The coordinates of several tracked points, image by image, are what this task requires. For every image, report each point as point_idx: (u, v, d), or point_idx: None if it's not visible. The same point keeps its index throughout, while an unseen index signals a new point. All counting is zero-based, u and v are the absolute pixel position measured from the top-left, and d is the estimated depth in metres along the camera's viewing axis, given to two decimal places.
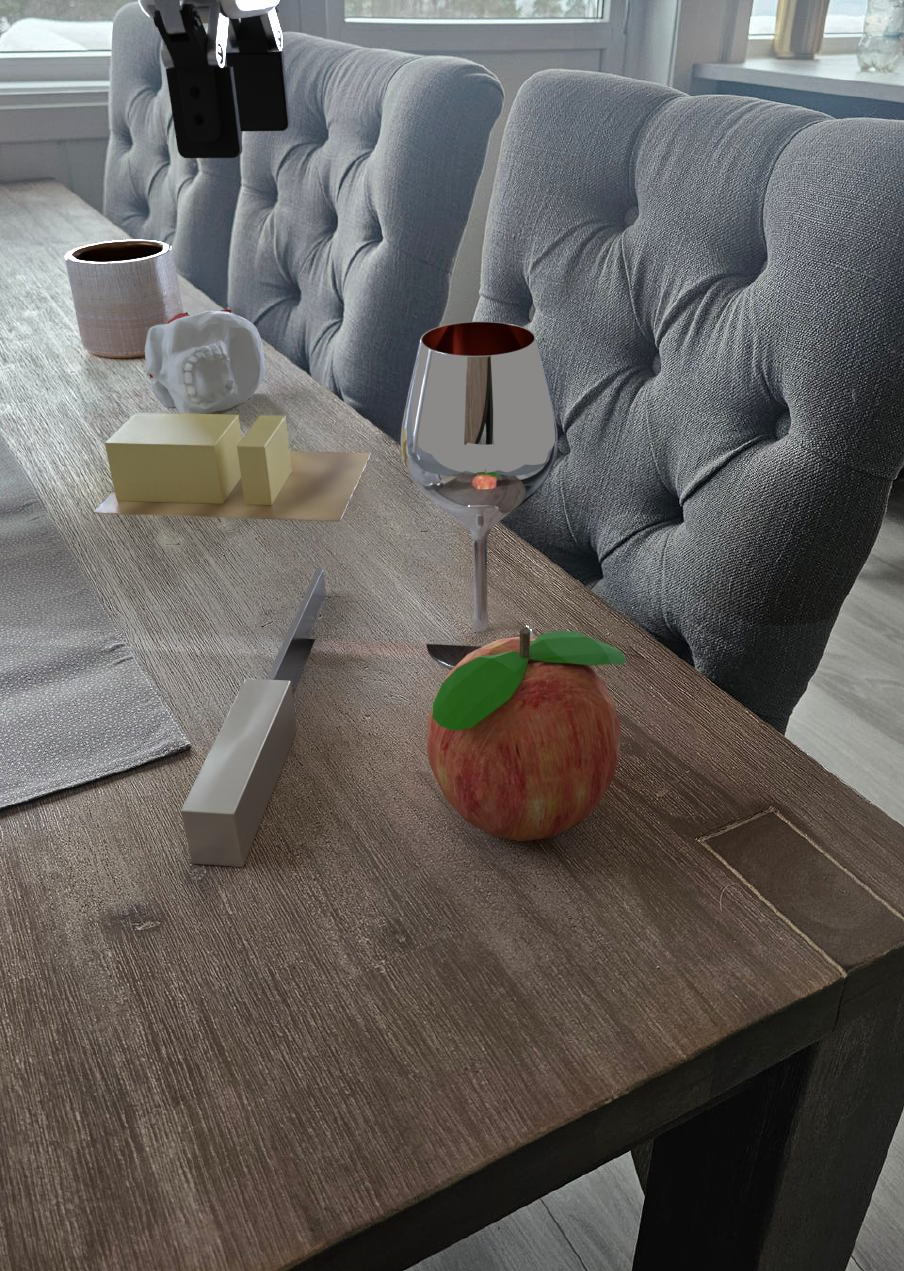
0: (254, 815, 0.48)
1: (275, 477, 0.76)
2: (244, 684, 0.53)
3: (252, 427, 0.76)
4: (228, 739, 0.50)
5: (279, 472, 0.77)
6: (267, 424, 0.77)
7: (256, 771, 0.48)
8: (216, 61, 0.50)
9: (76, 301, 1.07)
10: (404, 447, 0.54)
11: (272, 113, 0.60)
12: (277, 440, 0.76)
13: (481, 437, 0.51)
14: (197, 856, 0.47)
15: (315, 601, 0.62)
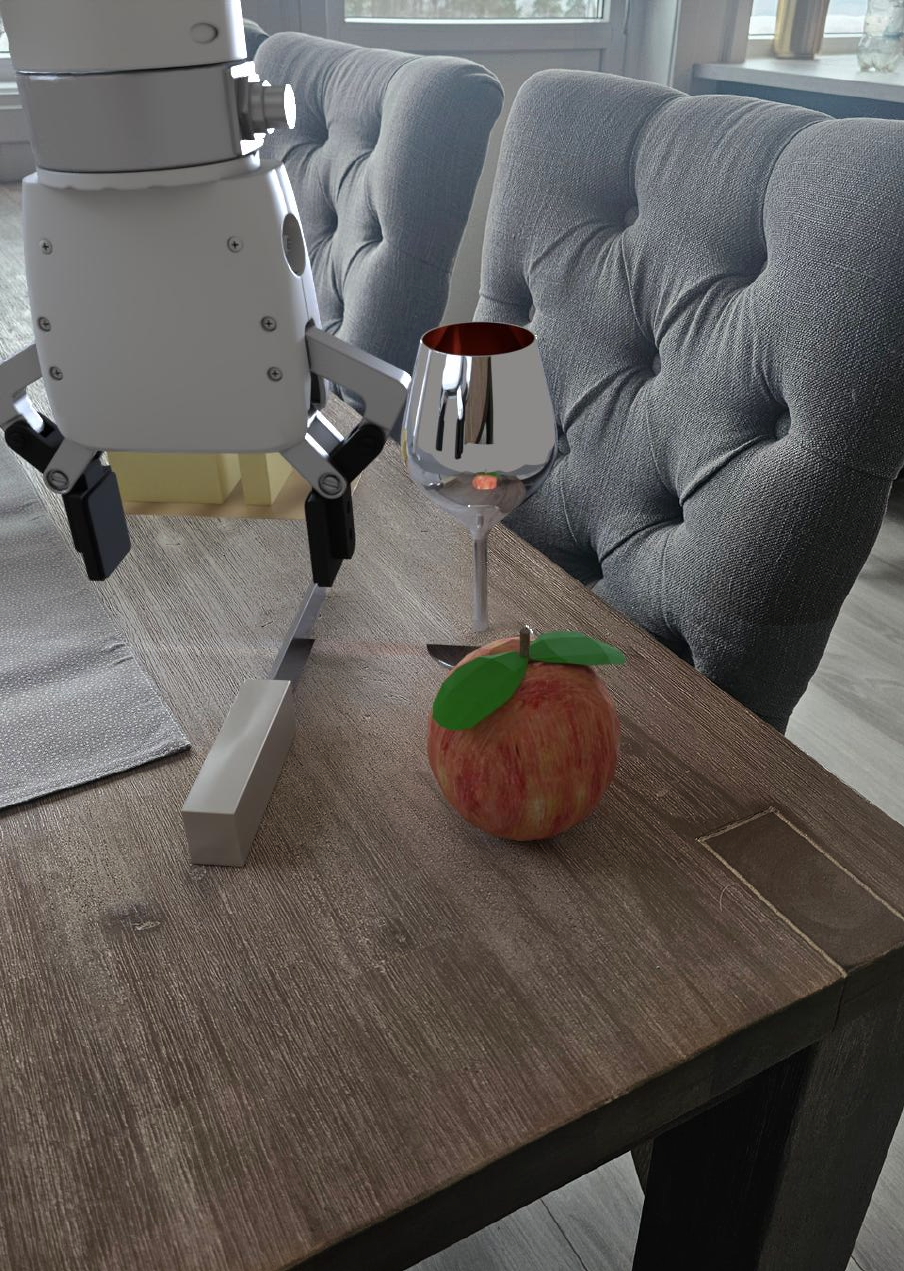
0: (254, 815, 0.48)
1: (275, 477, 0.76)
2: (244, 684, 0.53)
3: None
4: (228, 739, 0.50)
5: (279, 472, 0.77)
6: None
7: (256, 771, 0.48)
8: (47, 486, 0.42)
9: None
10: (404, 447, 0.54)
11: None
12: None
13: (481, 437, 0.51)
14: (197, 856, 0.47)
15: (315, 601, 0.62)
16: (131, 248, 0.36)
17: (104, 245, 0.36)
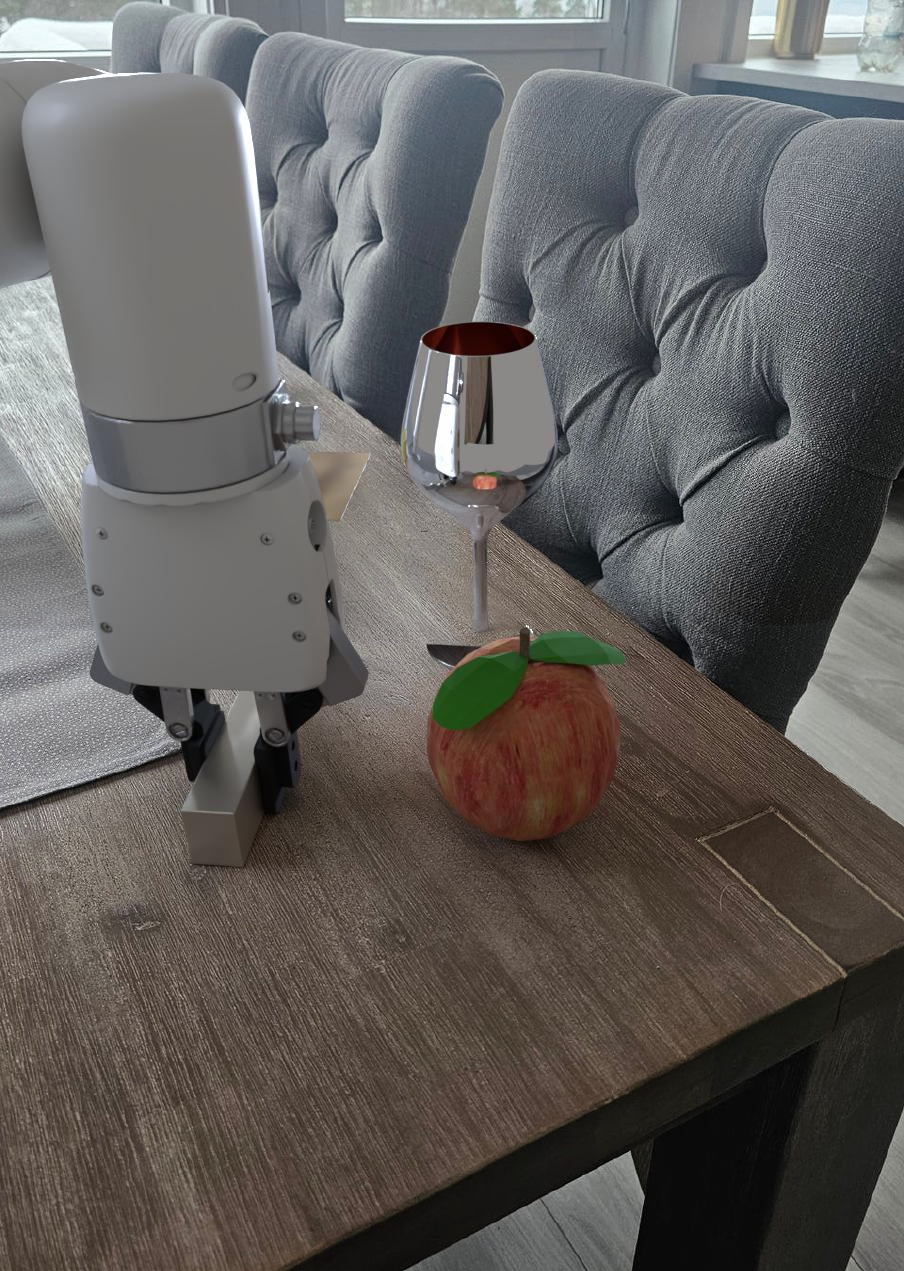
0: (254, 816, 0.48)
1: None
2: None
3: None
4: (228, 739, 0.50)
5: None
6: None
7: (256, 771, 0.48)
8: (176, 739, 0.48)
9: None
10: (404, 447, 0.54)
11: None
12: None
13: (481, 437, 0.51)
14: (197, 856, 0.47)
15: None
16: (177, 540, 0.41)
17: (153, 536, 0.41)
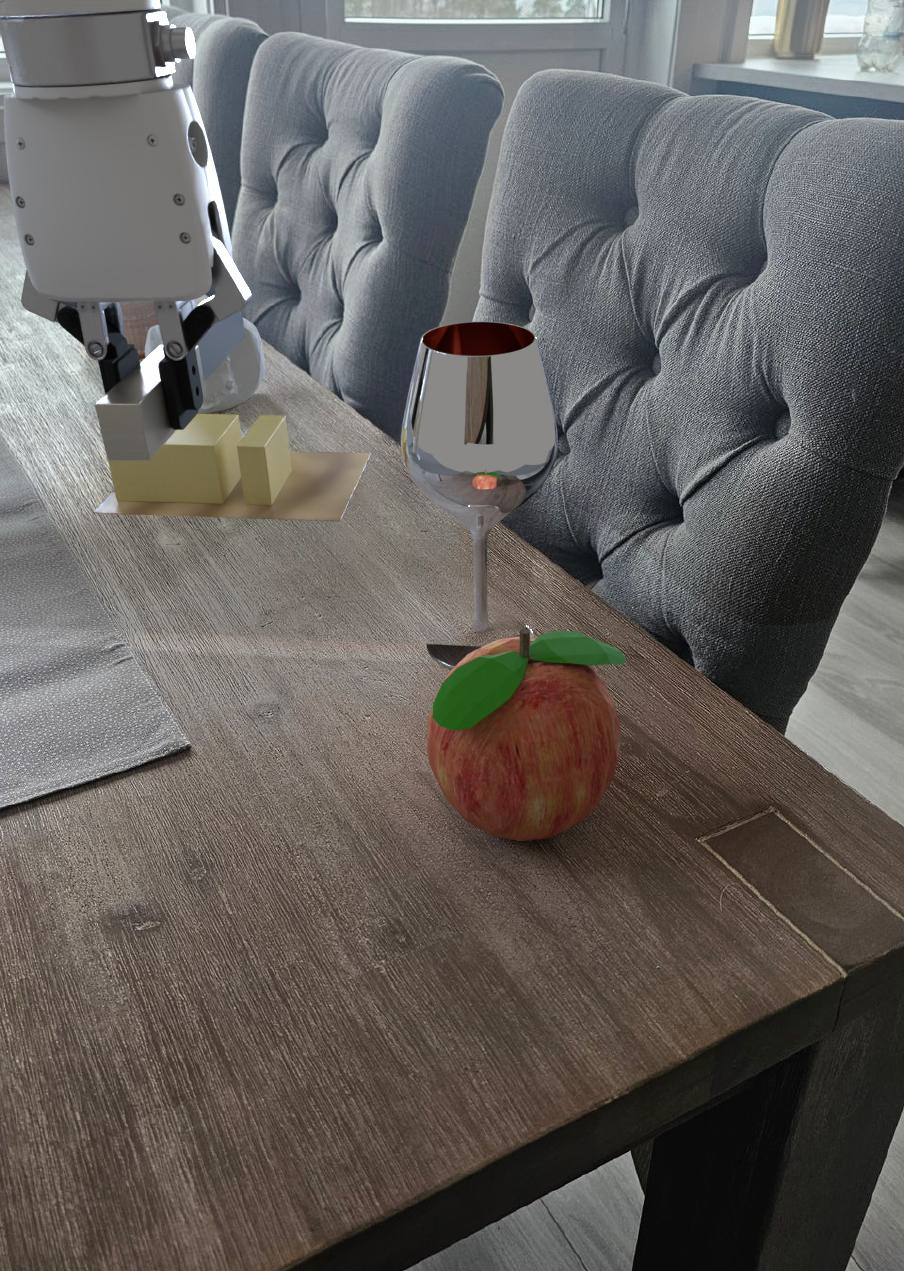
0: (160, 427, 0.58)
1: (275, 477, 0.76)
2: (159, 347, 0.63)
3: (252, 427, 0.76)
4: (140, 372, 0.59)
5: (279, 472, 0.77)
6: (267, 424, 0.77)
7: (161, 390, 0.58)
8: (94, 359, 0.58)
9: None
10: (404, 447, 0.54)
11: None
12: (277, 440, 0.76)
13: (481, 437, 0.51)
14: (111, 452, 0.57)
15: (230, 316, 0.72)
16: (80, 144, 0.51)
17: (61, 141, 0.51)
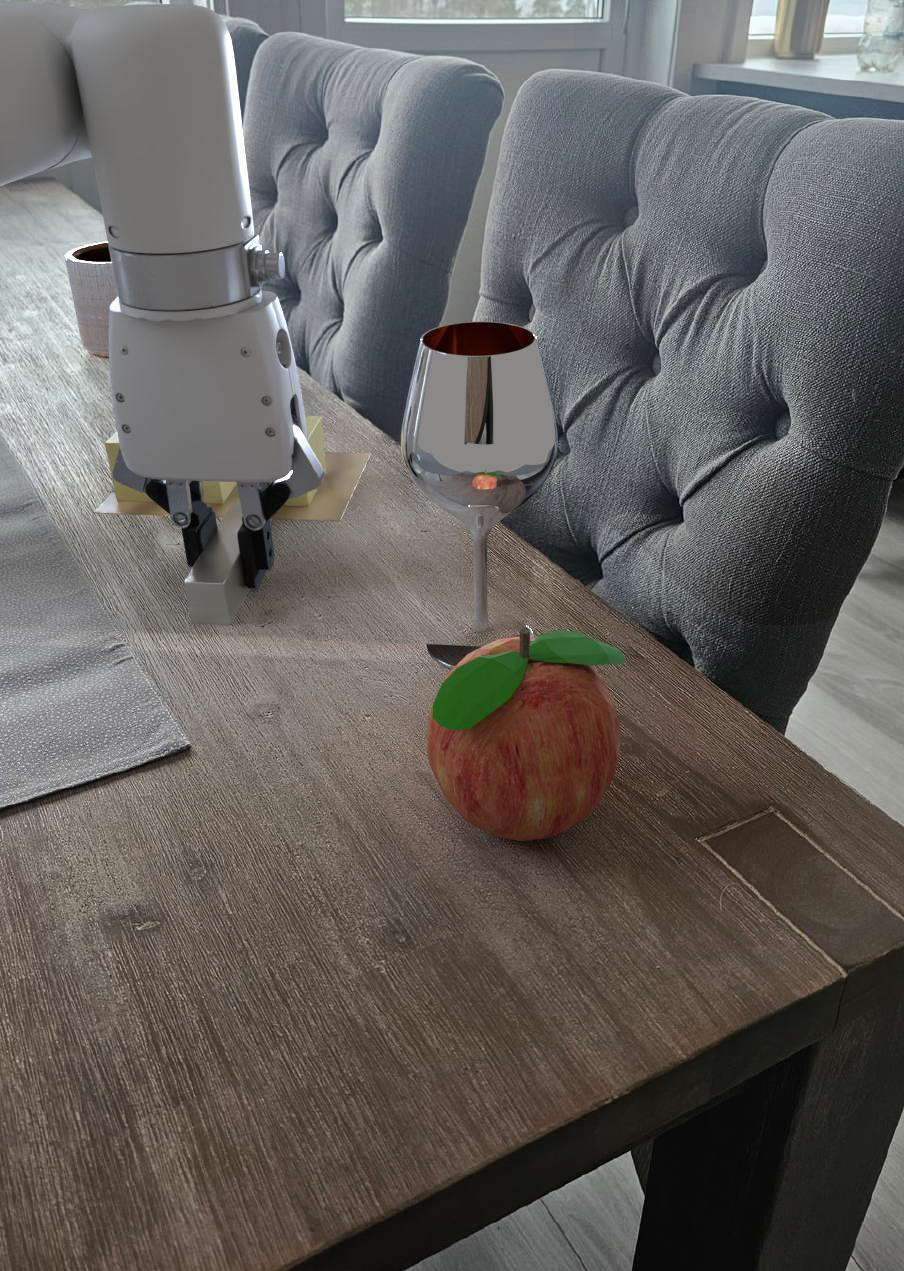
0: (239, 594, 0.63)
1: None
2: (231, 506, 0.68)
3: None
4: (219, 539, 0.65)
5: None
6: None
7: (240, 561, 0.63)
8: (178, 526, 0.63)
9: (76, 301, 1.07)
10: (404, 447, 0.54)
11: None
12: (314, 441, 0.76)
13: (481, 437, 0.51)
14: (196, 621, 0.62)
15: None
16: (179, 353, 0.56)
17: (162, 351, 0.56)
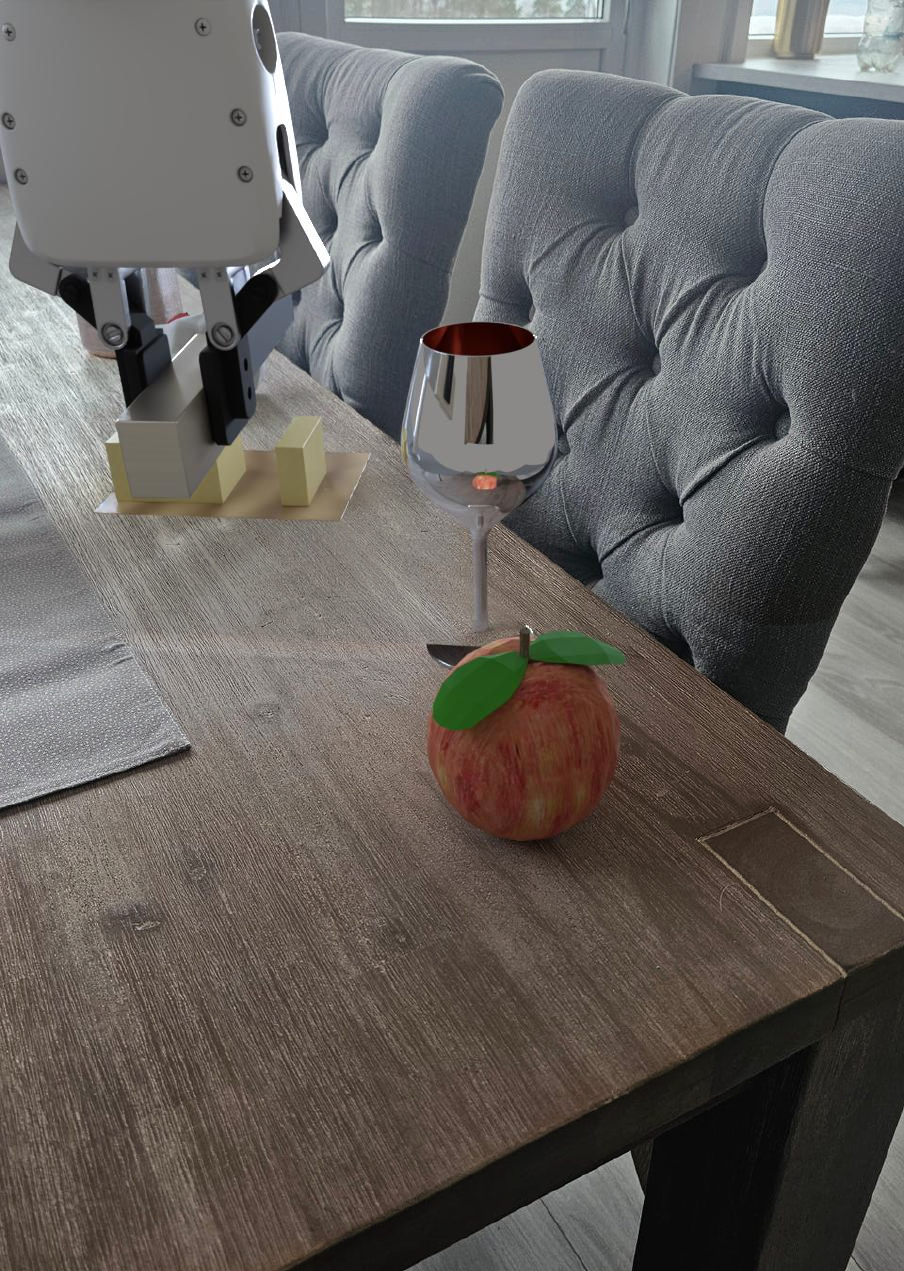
0: (203, 450, 0.42)
1: (312, 478, 0.76)
2: (194, 338, 0.47)
3: (289, 428, 0.76)
4: (173, 373, 0.44)
5: (315, 473, 0.77)
6: (303, 425, 0.76)
7: (204, 399, 0.42)
8: (110, 347, 0.42)
9: None
10: (404, 447, 0.54)
11: None
12: (314, 441, 0.76)
13: (481, 437, 0.51)
14: (137, 486, 0.41)
15: None
16: (96, 31, 0.35)
17: (68, 28, 0.35)
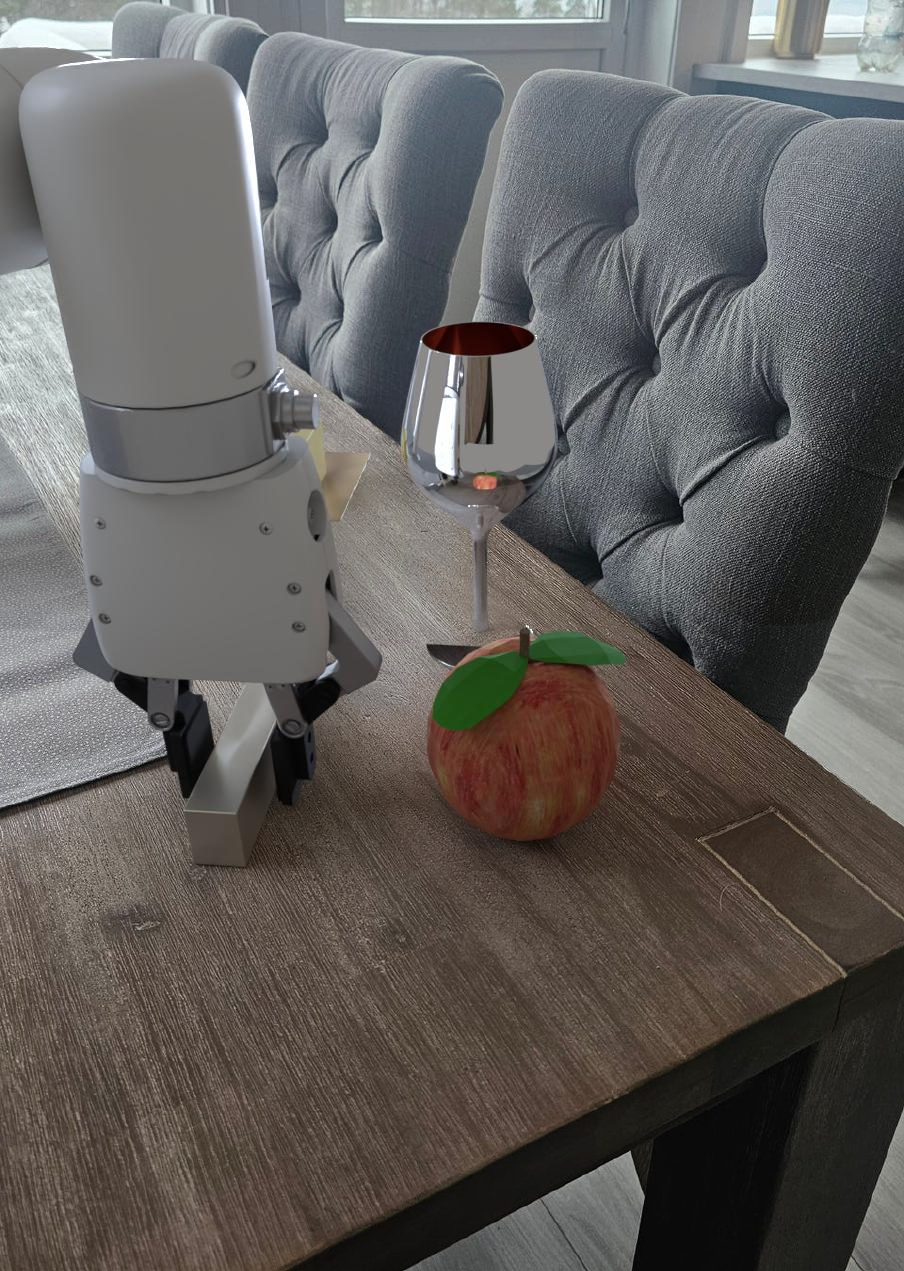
0: (257, 815, 0.48)
1: None
2: (246, 684, 0.53)
3: None
4: (230, 739, 0.50)
5: None
6: None
7: (258, 772, 0.48)
8: (155, 728, 0.48)
9: None
10: (404, 447, 0.54)
11: None
12: (314, 441, 0.76)
13: (481, 437, 0.51)
14: (200, 856, 0.47)
15: None
16: (175, 530, 0.41)
17: (152, 526, 0.41)
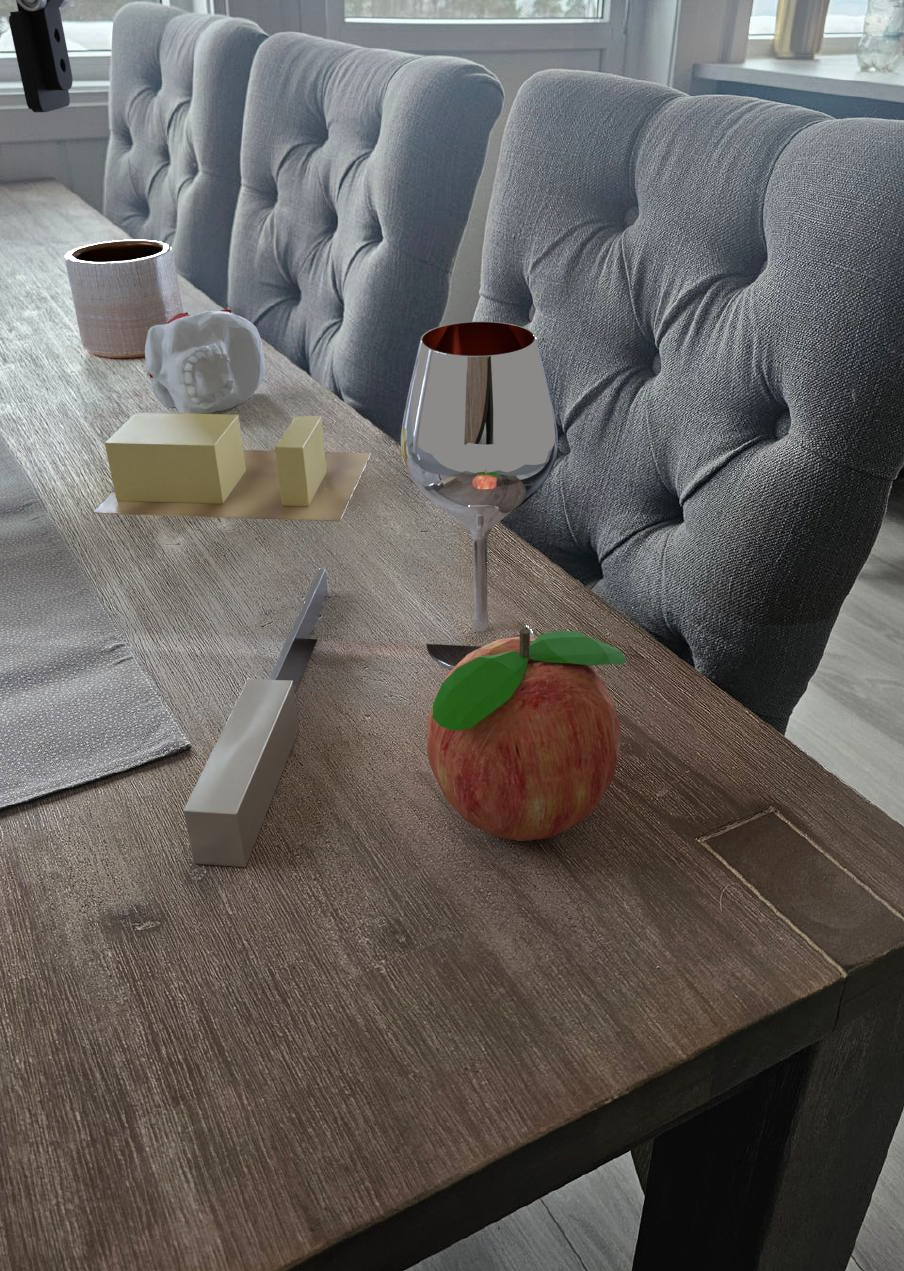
0: (257, 816, 0.48)
1: (312, 478, 0.76)
2: (246, 684, 0.53)
3: (289, 428, 0.76)
4: (230, 739, 0.50)
5: (315, 473, 0.77)
6: (303, 425, 0.76)
7: (258, 771, 0.48)
8: None
9: (76, 301, 1.07)
10: (404, 447, 0.54)
11: None
12: (314, 441, 0.76)
13: (481, 437, 0.51)
14: (200, 856, 0.47)
15: (317, 601, 0.62)
16: None
17: None
